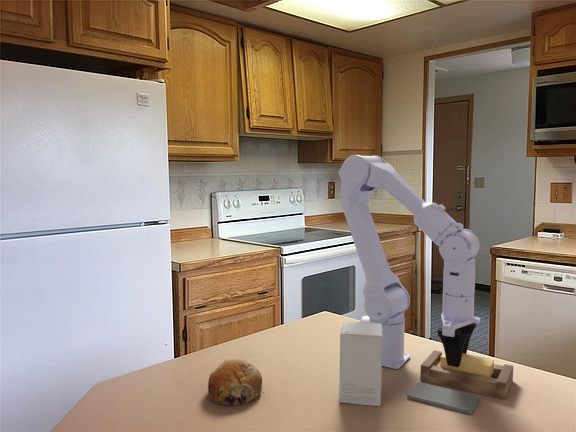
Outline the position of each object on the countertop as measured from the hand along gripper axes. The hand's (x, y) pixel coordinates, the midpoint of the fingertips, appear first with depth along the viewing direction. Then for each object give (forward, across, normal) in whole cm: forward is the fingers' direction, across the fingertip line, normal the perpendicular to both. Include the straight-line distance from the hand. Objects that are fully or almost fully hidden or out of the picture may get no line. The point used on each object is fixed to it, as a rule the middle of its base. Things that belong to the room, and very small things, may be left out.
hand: (456, 361), depth 95 cm
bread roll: (+4, -28, +33) cm, 43 cm away
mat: (+3, -10, 0) cm, 11 cm away
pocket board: (+3, 0, -2) cm, 4 cm away
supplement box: (+4, -16, +13) cm, 21 cm away
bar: (+1, 0, -2) cm, 2 cm away
